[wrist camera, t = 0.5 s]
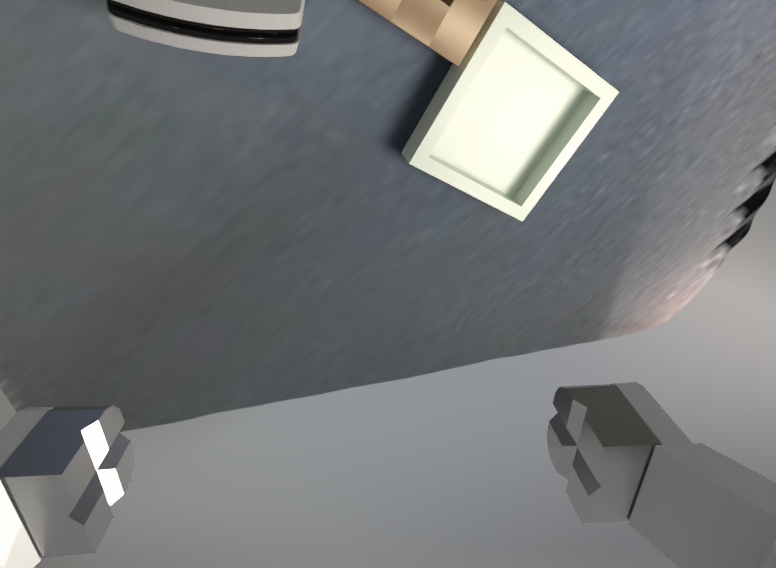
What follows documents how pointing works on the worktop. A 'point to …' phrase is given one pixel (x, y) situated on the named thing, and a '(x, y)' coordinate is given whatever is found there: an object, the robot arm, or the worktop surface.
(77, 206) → the worktop surface
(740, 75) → the worktop surface
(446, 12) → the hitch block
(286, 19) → the grey slotted holder
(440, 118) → the sage tray
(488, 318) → the worktop surface
